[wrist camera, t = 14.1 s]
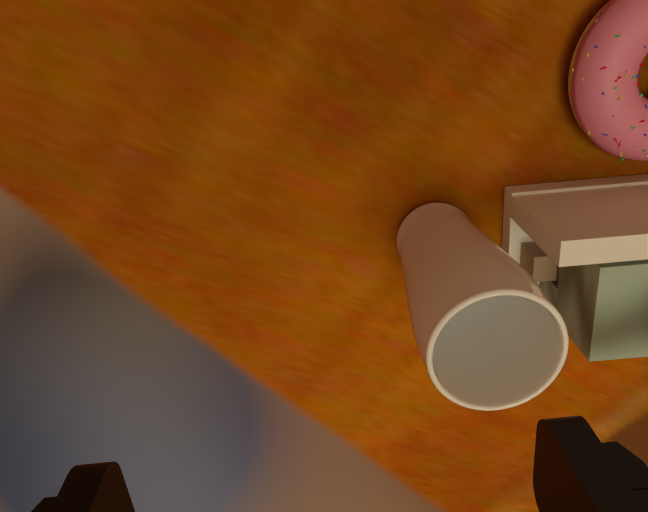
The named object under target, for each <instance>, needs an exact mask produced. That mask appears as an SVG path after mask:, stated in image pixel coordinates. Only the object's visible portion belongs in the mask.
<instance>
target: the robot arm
mask: <svg viewBox="0 0 648 512" xmlns="http://www.w3.org/2000/svg"><path fill="white" fill-rule="evenodd" d="M533 488H534V494H535V499H536V503H537V506H538V509H539V512H648V467H647V466H646V465H645V463H644V462H643V461H642V460H640V459H639V458H638V457H637V456H635V455H634V454H633V453H631V452H630V451H629V450H627V449H626V448H625V447H623V446H622V445H620V444H619V443H618V442H616V441H615V442H606V443H601V442H600V440H599V439H598V437H597V436H596V434H595V433H594V431H593V430H592V428H591V427H590V425H589V424H588V422H587V421H586V420H585V419H584V418H583V417H582V416H571V417H561V418H551V419H541V420H539V422H538V424H537V430H536V444H535V457H534V470H533ZM31 512H135V511H134V507H133V504H132V501H131V498H130V495H129V492H128V489H127V486H126V483H125V480H124V477H123V474H122V471H121V469H120V466H119V464H118V463H116V462H105V463H95V464H85V465H76V466H74V467H73V468H72V469H71V470H70V471H69V473H68V475H67V477H66V479H65V481H64V483H63V485H62V487H61V489H60V491H59V493H58V496H57V497H47V498H44V499H43V500H42V501H41V502H40V503H39V504H38V505H37V506H36V507H35V508H34V509H33V510H32V511H31Z"/></svg>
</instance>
